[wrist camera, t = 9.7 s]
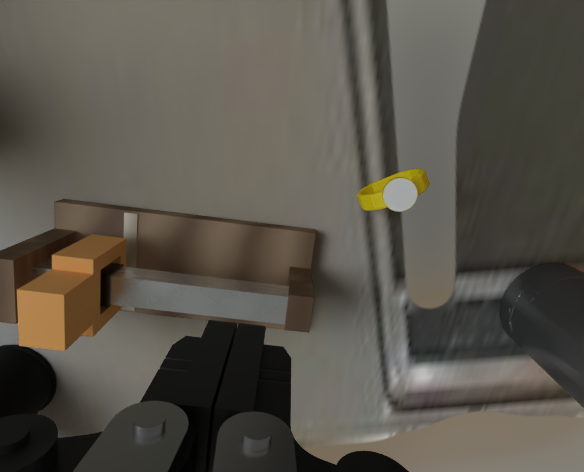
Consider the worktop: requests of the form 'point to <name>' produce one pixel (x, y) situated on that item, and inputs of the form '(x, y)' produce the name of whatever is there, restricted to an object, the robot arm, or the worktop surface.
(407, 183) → the watch
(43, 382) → the aerosol can
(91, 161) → the worktop surface
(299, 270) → the rig
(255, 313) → the grey square bar
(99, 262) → the collar
